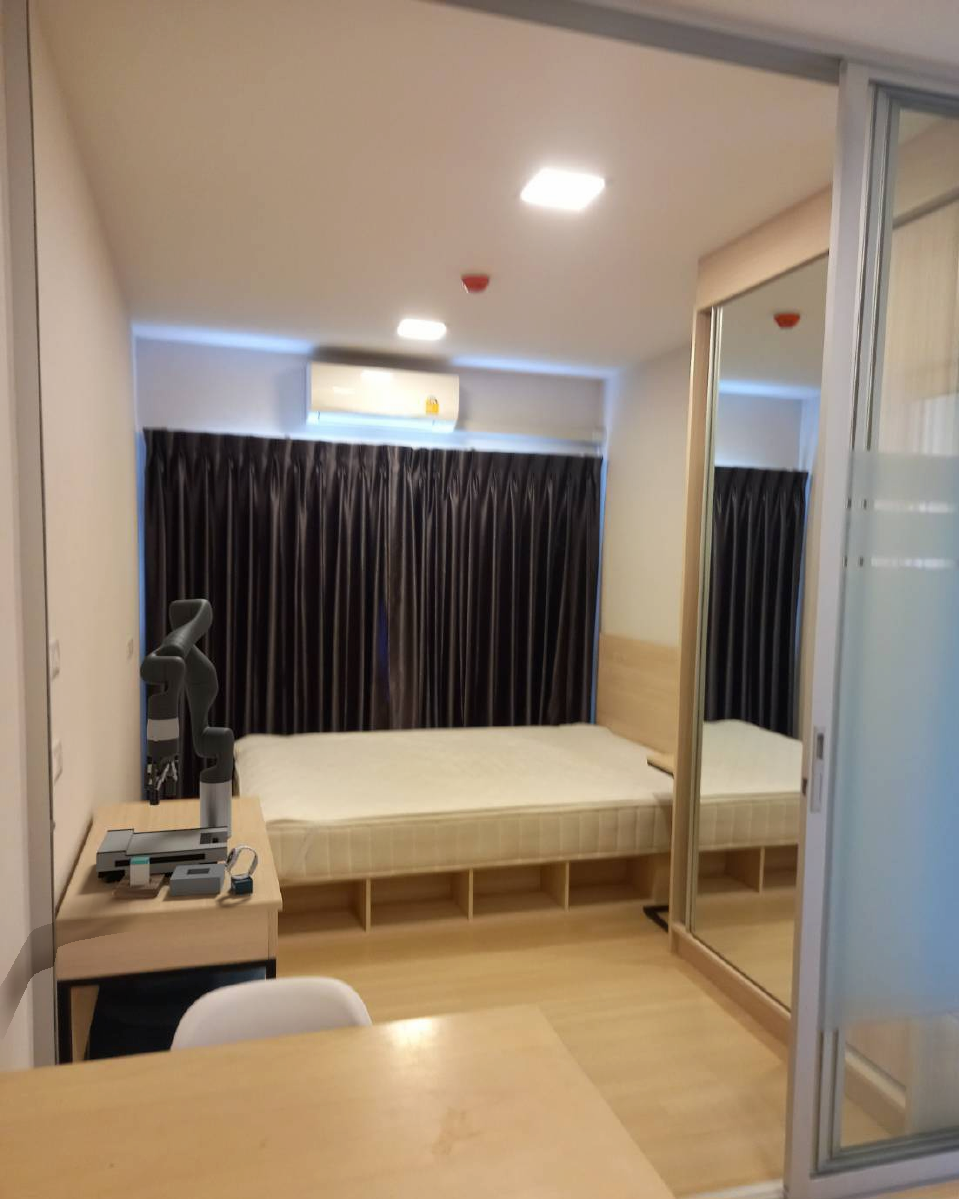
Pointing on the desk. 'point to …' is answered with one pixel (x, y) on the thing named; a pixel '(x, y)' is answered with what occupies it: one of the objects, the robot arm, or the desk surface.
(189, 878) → the port block
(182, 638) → the robot arm
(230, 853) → the watch
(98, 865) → the game console
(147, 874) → the plug
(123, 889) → the brown flat square frame
